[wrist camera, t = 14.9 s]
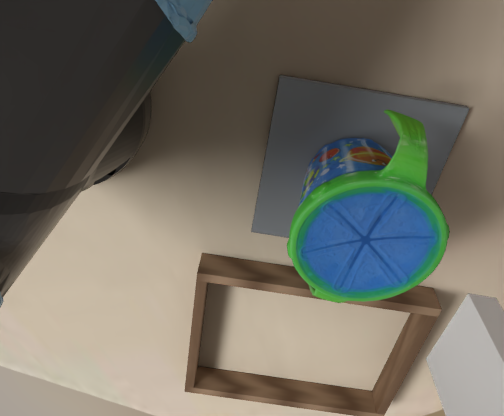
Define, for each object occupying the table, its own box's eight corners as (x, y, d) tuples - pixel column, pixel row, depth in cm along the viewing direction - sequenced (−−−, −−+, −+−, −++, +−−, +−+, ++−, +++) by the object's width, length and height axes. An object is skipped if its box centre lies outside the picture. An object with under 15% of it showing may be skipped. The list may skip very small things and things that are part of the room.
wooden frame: (189, 370, 55) (184, 391, 53) (202, 253, 45) (197, 272, 42) (377, 397, 56) (381, 419, 54) (433, 288, 46) (441, 309, 43)
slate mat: (251, 228, 43) (251, 231, 42) (279, 74, 35) (279, 77, 34) (403, 251, 43) (404, 255, 43) (466, 105, 35) (469, 108, 35)
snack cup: (353, 258, 43) (370, 341, 35) (255, 218, 41) (248, 296, 33) (458, 123, 35) (513, 188, 27) (343, 65, 33) (363, 116, 25)
